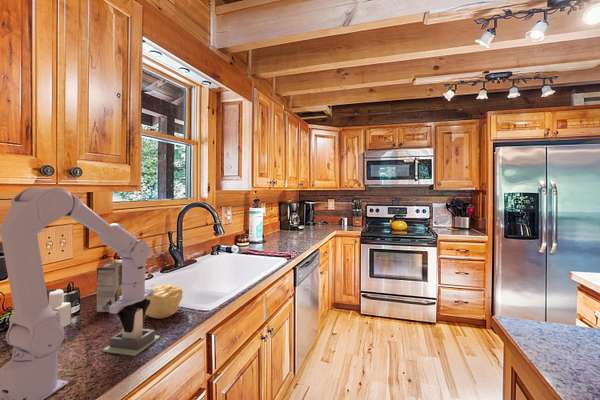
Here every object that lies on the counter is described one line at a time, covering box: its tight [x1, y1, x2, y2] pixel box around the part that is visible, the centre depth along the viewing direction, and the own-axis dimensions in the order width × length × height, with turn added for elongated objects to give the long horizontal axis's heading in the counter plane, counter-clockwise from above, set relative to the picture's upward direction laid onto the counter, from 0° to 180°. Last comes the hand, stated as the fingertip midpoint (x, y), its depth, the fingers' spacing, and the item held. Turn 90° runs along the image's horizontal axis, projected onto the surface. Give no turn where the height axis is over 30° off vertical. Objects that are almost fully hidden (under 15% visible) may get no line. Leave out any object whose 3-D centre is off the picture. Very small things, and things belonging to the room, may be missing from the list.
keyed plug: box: [121, 308, 144, 339], centre depth 83 cm, size 3×5×8 cm, turn 80°
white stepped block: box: [46, 288, 72, 329], centre depth 91 cm, size 7×7×12 cm
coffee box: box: [96, 261, 122, 313], centre depth 109 cm, size 9×6×16 cm
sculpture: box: [145, 283, 183, 319], centre depth 103 cm, size 12×12×11 cm
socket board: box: [102, 328, 161, 357], centre depth 83 cm, size 10×10×3 cm
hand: (133, 328), depth 83 cm, fingers closed on keyed plug, 3 cm apart
